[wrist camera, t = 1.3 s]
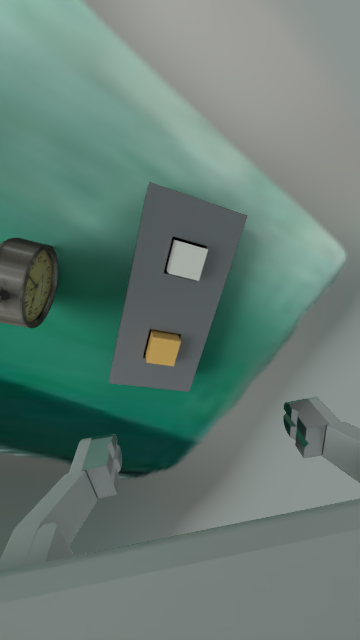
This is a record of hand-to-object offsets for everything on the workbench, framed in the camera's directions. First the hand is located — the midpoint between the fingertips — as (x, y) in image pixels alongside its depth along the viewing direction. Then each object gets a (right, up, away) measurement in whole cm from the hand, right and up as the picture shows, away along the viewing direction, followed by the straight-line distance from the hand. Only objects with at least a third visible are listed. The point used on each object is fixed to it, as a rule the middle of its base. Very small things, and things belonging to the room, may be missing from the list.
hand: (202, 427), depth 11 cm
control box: (-3, +9, +30) cm, 32 cm away
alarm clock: (-23, +12, +25) cm, 36 cm away
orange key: (-4, +1, +28) cm, 28 cm away
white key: (0, +14, +23) cm, 27 cm away
